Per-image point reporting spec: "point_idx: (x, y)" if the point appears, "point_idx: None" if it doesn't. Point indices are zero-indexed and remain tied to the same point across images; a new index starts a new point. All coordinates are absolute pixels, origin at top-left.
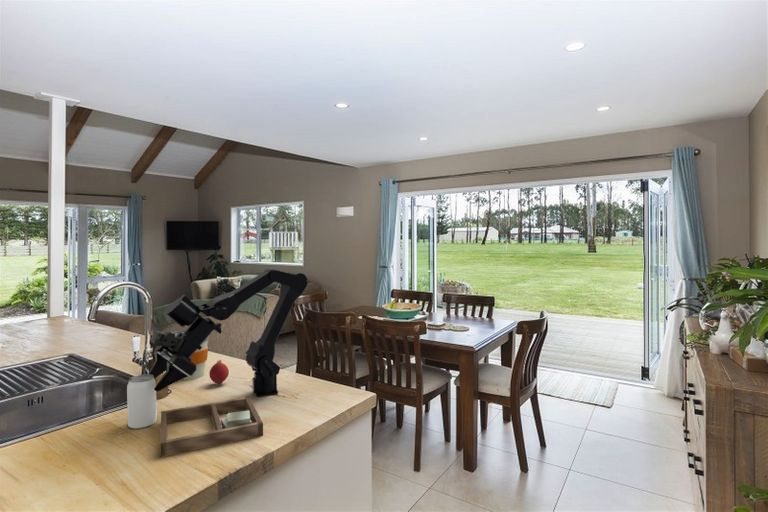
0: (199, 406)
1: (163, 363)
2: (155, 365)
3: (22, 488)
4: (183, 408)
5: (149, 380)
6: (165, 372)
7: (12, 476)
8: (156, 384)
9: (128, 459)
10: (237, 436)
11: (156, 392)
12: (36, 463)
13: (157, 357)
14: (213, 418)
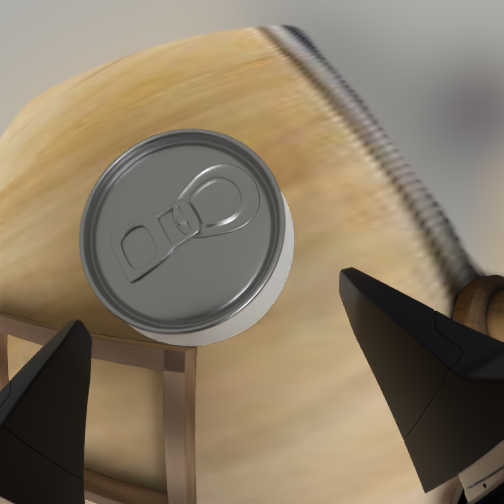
0: (168, 485)
1: (439, 432)
2: (422, 353)
3: (53, 97)
4: (174, 436)
5: (98, 288)
6: (3, 413)
7: (104, 67)
8: (497, 320)
9: (21, 245)
10: None
11: (468, 322)
12: (127, 79)
13: (496, 388)
14: (96, 484)
